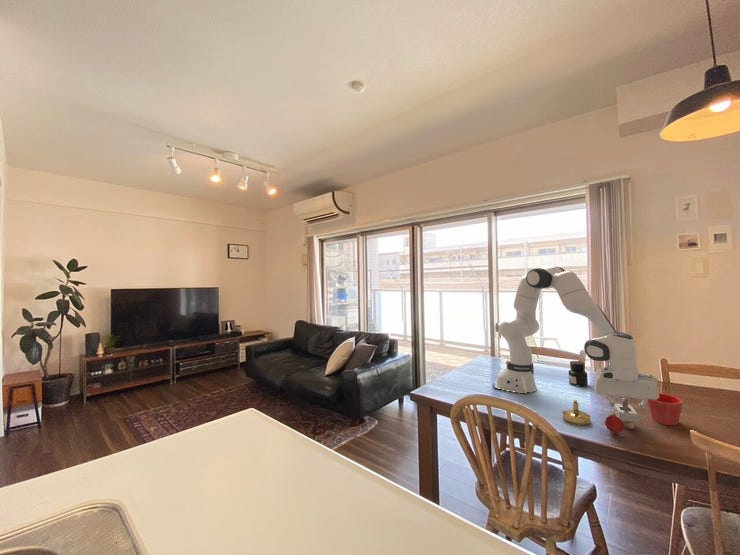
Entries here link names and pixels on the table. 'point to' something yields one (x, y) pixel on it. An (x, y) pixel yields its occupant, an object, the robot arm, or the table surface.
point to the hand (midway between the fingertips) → (626, 407)
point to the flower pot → (665, 409)
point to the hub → (576, 416)
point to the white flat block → (626, 413)
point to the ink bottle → (578, 374)
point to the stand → (625, 407)
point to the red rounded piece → (614, 424)
